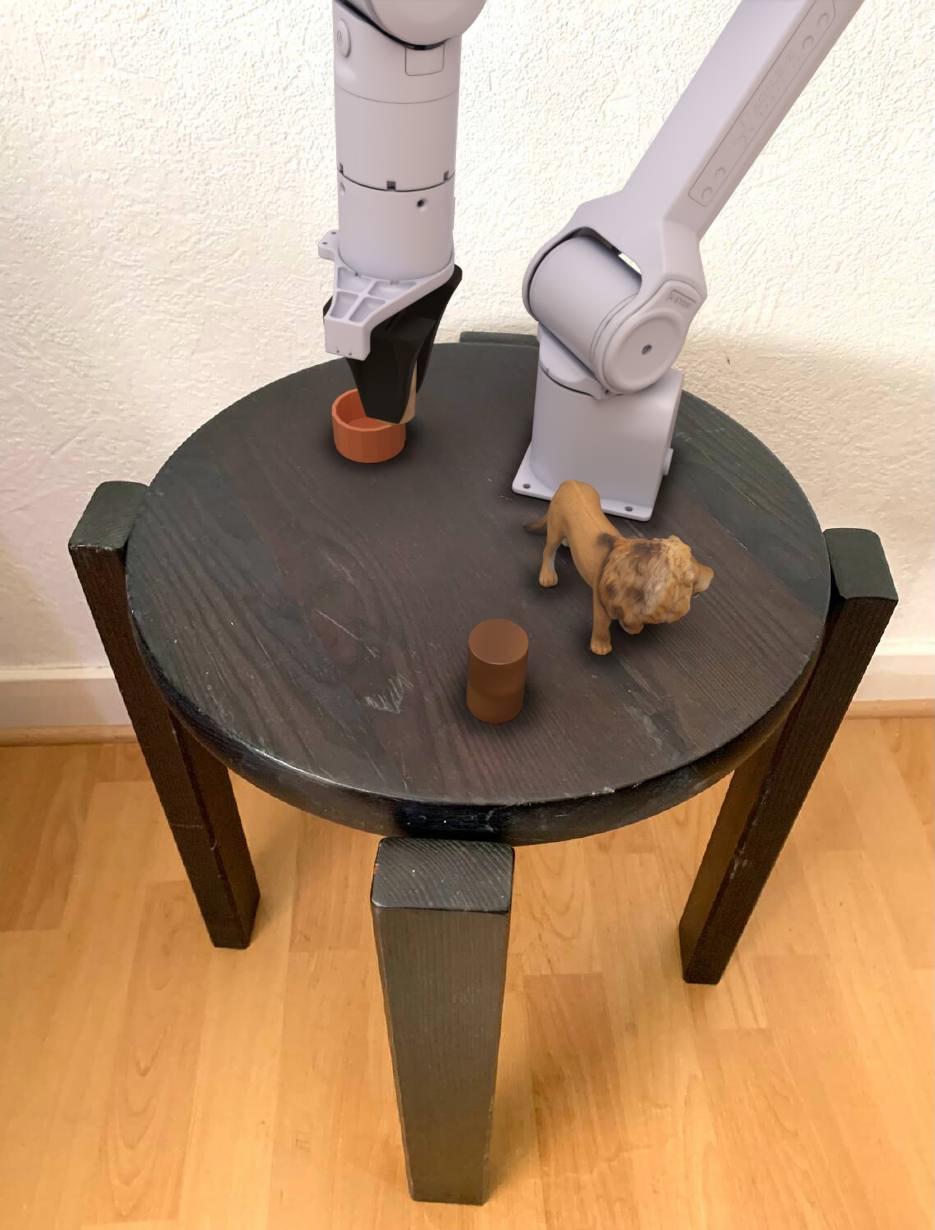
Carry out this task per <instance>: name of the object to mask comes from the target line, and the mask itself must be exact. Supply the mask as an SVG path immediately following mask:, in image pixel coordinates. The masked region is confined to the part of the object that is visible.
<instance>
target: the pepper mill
mask: <svg viewBox="0 0 935 1230" xmlns="http://www.w3.org/2000/svg"><path fill="white" fill-rule="evenodd" d="M416 372H417V361H416V364H415V368H414V372H413V378H412V384H411V390H410V395H409V401H408V405H407V408H406V411H405V414H404V416H403V418H402V420H401V422H400V423H399V424H403V423H405V424H406V423H408V422H410V421H412V420H413V418H414V417H415V415H416V405H417V403H416V402H417V401H416V400H417V399H416V398H417V393H416ZM376 420H377V419H376ZM377 421H379V422H381V423H384V424H388V425H399V424H394V423H390V422H386V421H381V420H377Z"/></svg>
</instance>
